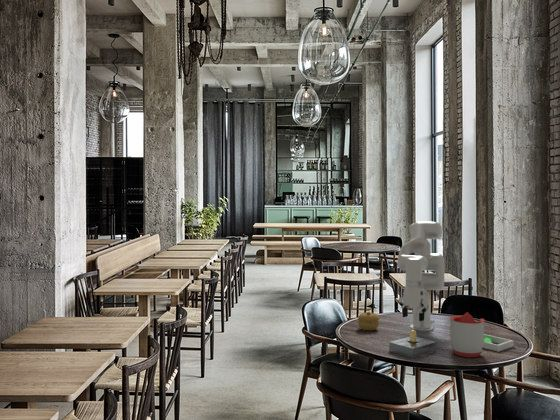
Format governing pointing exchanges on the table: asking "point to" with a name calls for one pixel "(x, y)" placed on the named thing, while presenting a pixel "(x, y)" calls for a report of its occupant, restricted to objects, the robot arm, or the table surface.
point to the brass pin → (413, 336)
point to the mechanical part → (487, 340)
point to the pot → (368, 321)
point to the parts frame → (501, 342)
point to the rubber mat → (409, 336)
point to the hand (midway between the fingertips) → (413, 318)
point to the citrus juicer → (466, 335)
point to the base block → (412, 347)
